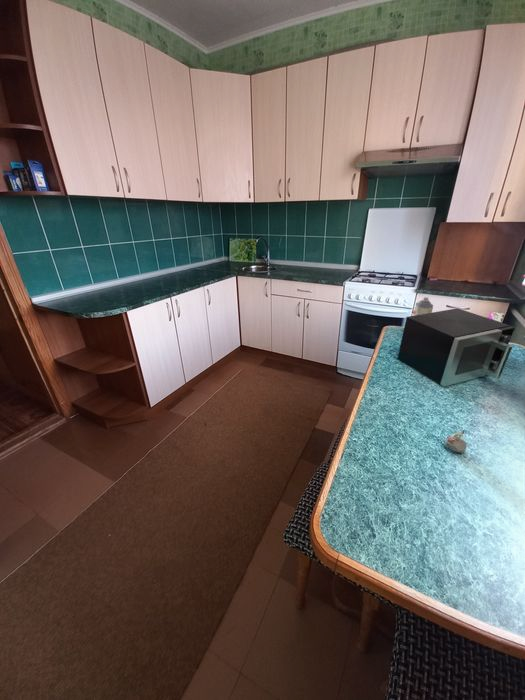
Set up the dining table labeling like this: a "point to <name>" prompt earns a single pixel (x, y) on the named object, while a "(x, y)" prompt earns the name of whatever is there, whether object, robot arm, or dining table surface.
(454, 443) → the figurine
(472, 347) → the oven door
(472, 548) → the dining table surface
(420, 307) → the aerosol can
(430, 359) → the oven
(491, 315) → the candy bar box
